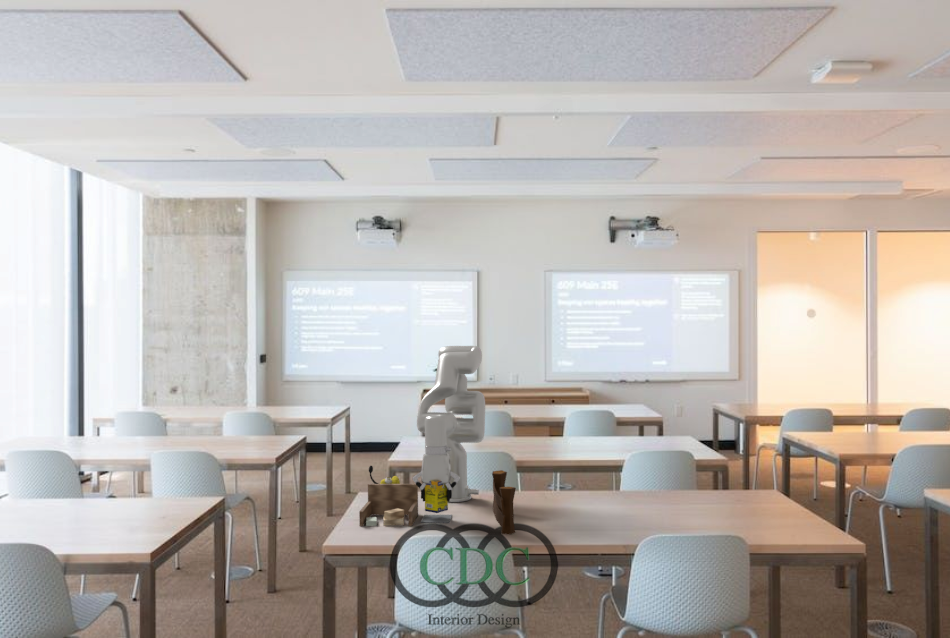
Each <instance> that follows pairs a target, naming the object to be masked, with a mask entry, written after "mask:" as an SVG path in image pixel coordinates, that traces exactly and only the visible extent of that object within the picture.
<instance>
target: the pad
mask: <svg viewBox="0 0 950 638" xmlns="http://www.w3.org/2000/svg"><path fill="white" fill-rule="evenodd" d="M452 518H453V514H424V515H423V516H422V519H421V521H420V524H450V523H451V521H452Z"/></svg>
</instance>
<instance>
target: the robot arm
mask: <svg viewBox="0 0 950 638" xmlns="http://www.w3.org/2000/svg"><path fill="white" fill-rule="evenodd" d="M437 356H438V360H437V361H438V362H437V368H436V372H435V373H436V375H435V380H434V385H433V387H432V388H431V389H430V390H429V391H427V392H426V394H425V395H424V396H423V398H422V399H421V401H420V402H419V406H418V411H417V415H416V417H417V419H416V427H417V430H418V431H419V432H420V433H423V434H424V453H423V456H422V461H421V462H422V463H421V471H420V472H418V473H417V474H416V475H414V476H413V477H412V480H413V482H414V484H416V485H417V486H418V489H419V490H420V499H422V502H425V485H426V484H427V483H429V482H430V481H442V483H443V484H446V486H447V487H448V489H447V501H448V503H461V502H462V503H464V502H467V501H469V500H472V495H479V491H480V490H479V489H477V488H469V487H470V486H469V485H468V455H467V451H466V448H464V446H463V445H462V444H463V443H464V444H465V443H466V444H467V443H468V444H470V443H471V444H476V443H481V442H483V440H484V438H485V432H486V431H485V428H486V427H485V426H486V398H485V395H484V393H482V392H481V391H479V390H468V377H467V375H472V374H474V373H475V372H476V371H477V370H478V369H479V367H480V365H481V363H482V359H483V354H482V350H481V348H480V347H479V346H478V345H449V346H448V345H447V346H442V347H441V348H440V349H439V350H438V354H437ZM440 401H444V406H445V407H444V408H445V412H439V411H438V412H435V411H434V412H433V411H432V412H431V411H430V412H429V410H430V408H432V406H434V405H435V404H437V403H438V402H440ZM456 416H472V417H456ZM420 477H421V482H420V480H419V478H420Z"/></svg>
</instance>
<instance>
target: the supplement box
mask: <svg viewBox="0 0 950 638" xmlns="http://www.w3.org/2000/svg"><path fill="white" fill-rule="evenodd" d="M447 489H448V487H447V486H446V484H443V483H442V481H430V482H429V483H427V484H426V485H425V501H424V511H425V512H429V513H434V514H435V513H436V514H439V513H442V512H447V511H448V510H449V502H448V501H447Z"/></svg>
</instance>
